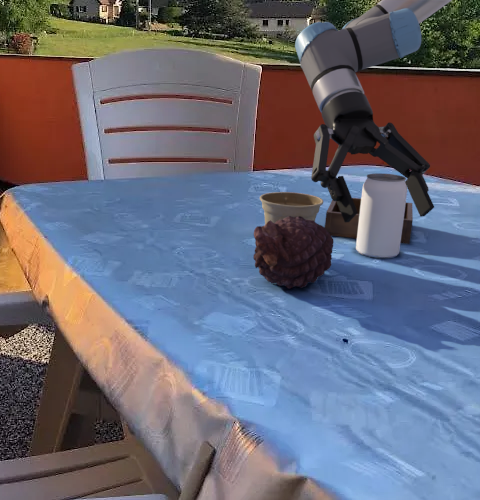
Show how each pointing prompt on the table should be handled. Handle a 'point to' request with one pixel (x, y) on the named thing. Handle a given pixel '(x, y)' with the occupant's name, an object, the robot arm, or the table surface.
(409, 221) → the wooden box
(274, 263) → the pine cone
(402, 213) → the can
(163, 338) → the table surface
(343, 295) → the table surface
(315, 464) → the table surface
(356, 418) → the table surface
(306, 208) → the flower pot
